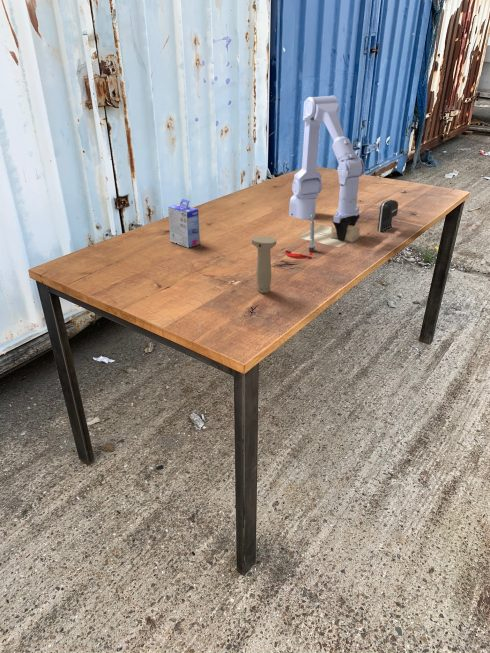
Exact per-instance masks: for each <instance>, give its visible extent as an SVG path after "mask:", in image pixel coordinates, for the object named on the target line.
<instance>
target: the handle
mask: <svg viewBox="0 0 490 653" xmlns="http://www.w3.org/2000/svg"><path fill="white" fill-rule="evenodd" d="M251 244H252V245H253V246H255V247H256V249H257V258H256V259H257V262H256V283H257V291H258V292H259V293H261V294H268V293H269V292H270V290H271V282H272V262H271V260H272V258H271V249H272V248H274V247H275V246H276V245H277V239H276V238H275V237H272V236H266V235H255V236H254V237H252V238H251Z"/></svg>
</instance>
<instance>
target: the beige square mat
mask: <svg viewBox="0 0 490 653" xmlns="http://www.w3.org/2000/svg"><path fill="white" fill-rule="evenodd" d="M331 230H332V226H328V225H323V224H319V225H317V226H314V239H315V243H319V244H323V245H328V246H330V247H331V246H332V247H336V248H340V247H342V246H343V245H345V244H346V243H348V242H346V241H341V240H337V239H332V238H331ZM359 235H361V232H359ZM296 238H297V239H300V240H301V239H302V240H305V241H309V242H310V230H308V231H306V232H304V233H302V234H300V235H299V236H297V237H296Z"/></svg>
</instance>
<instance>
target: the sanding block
mask: <svg viewBox="0 0 490 653" xmlns="http://www.w3.org/2000/svg"><path fill="white" fill-rule="evenodd" d="M331 227H332V230H331V238H332V239H337V240H338V238H337V232H336V228H335V225H334V224H333V226H331ZM360 229H361V227H360V226H359V227H358V226H356V225H355V226H350V225H349V226H348V228H347V231H346V236H345V239H344V241H346V242H347V243H351V244H353V243H355V242H356V241H359V239H360V234H359V233H360ZM341 241H342V240H341Z"/></svg>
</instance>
